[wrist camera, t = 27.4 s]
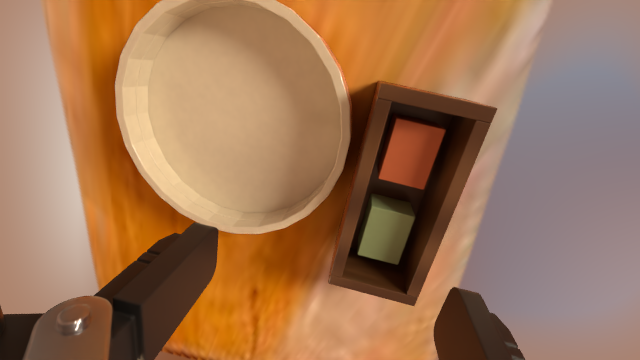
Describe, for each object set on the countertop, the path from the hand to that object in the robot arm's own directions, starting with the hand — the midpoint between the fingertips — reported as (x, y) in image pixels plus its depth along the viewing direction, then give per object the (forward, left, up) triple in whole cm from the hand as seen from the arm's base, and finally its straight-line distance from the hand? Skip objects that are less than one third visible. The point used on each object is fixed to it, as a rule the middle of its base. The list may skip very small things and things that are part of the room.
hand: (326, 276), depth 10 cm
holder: (+1, +4, -13) cm, 14 cm away
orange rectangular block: (-2, +4, -13) cm, 13 cm away
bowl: (-1, -8, -13) cm, 16 cm away
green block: (+4, +4, -13) cm, 13 cm away
